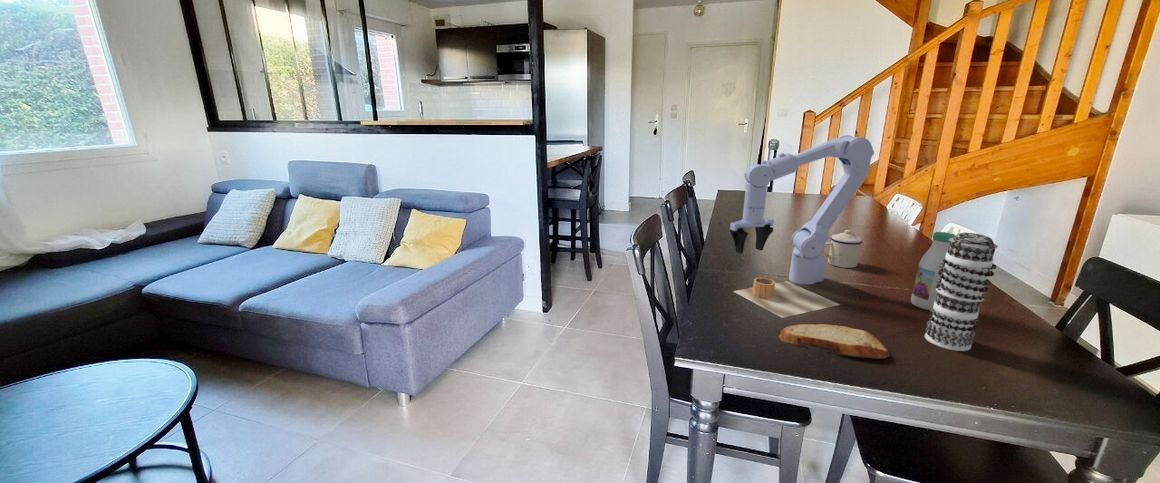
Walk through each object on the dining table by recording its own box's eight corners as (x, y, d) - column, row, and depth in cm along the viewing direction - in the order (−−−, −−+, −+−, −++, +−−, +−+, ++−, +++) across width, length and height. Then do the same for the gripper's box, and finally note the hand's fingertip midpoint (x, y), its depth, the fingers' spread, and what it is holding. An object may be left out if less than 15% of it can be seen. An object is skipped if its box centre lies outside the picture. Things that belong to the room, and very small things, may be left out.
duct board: (786, 284, 137) (788, 270, 135) (839, 308, 121) (842, 292, 119) (732, 294, 129) (734, 279, 128) (781, 321, 113) (784, 304, 112)
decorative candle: (977, 356, 98) (1009, 244, 91) (923, 344, 102) (950, 237, 95) (970, 338, 105) (999, 233, 98) (920, 328, 110) (945, 227, 103)
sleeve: (753, 289, 130) (754, 276, 129) (773, 292, 128) (775, 279, 127) (751, 296, 126) (753, 282, 124) (772, 299, 123) (774, 286, 122)
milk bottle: (941, 302, 124) (959, 231, 118) (949, 314, 117) (968, 239, 111) (907, 298, 127) (923, 228, 121) (913, 308, 120) (930, 235, 114)
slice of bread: (771, 336, 107) (773, 321, 106) (825, 321, 114) (827, 308, 113) (840, 376, 91) (843, 360, 90) (898, 357, 98) (902, 341, 97)
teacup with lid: (850, 260, 157) (856, 227, 154) (862, 269, 149) (869, 234, 145) (813, 258, 159) (818, 226, 155) (824, 267, 150) (829, 233, 147)
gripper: (744, 211, 127) (739, 258, 131) (783, 207, 132) (778, 251, 136) (727, 206, 133) (722, 251, 137) (765, 202, 138) (760, 245, 142)
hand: (749, 251), depth 137 cm, fingers open, 7 cm apart
